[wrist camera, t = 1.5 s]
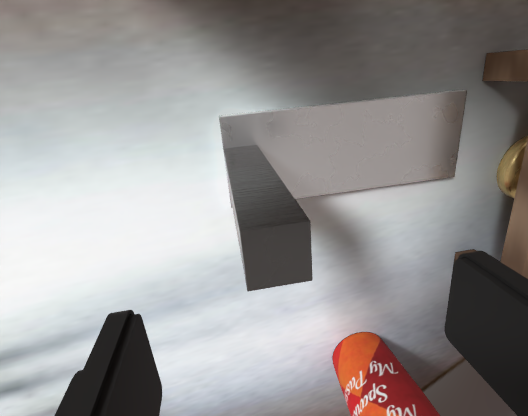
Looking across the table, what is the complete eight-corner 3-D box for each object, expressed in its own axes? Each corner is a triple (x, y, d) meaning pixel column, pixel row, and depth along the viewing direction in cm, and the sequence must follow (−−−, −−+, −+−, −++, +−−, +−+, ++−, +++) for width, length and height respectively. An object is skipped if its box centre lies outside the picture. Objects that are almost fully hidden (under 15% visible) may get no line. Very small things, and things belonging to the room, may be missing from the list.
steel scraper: (218, 115, 24) (231, 168, 10) (456, 89, 26) (733, 105, 12) (230, 202, 27) (253, 337, 13) (445, 172, 29) (662, 261, 15)
